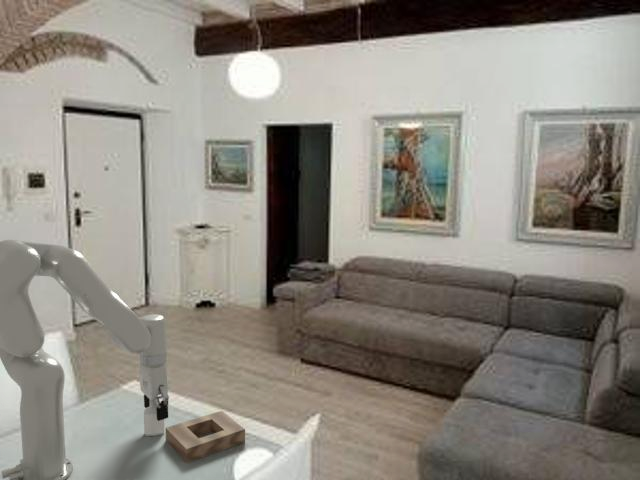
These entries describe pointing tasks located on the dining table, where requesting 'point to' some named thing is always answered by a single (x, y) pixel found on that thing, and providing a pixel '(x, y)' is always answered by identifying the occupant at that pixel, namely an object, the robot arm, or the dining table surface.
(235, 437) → the socket block
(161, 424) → the eye dropper bottle
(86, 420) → the dining table surface
